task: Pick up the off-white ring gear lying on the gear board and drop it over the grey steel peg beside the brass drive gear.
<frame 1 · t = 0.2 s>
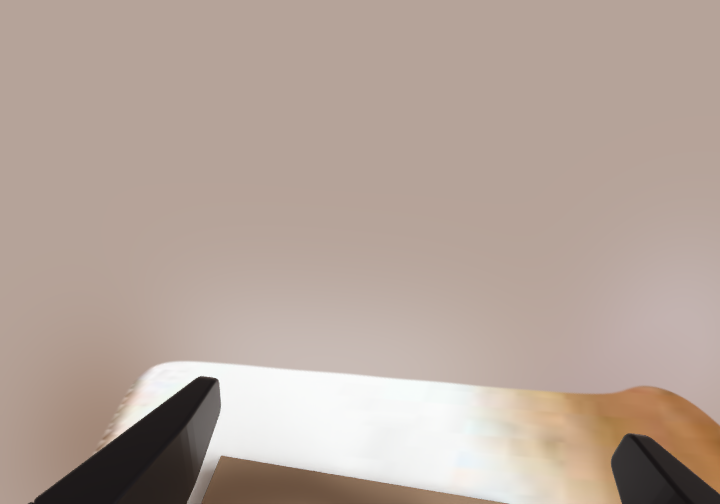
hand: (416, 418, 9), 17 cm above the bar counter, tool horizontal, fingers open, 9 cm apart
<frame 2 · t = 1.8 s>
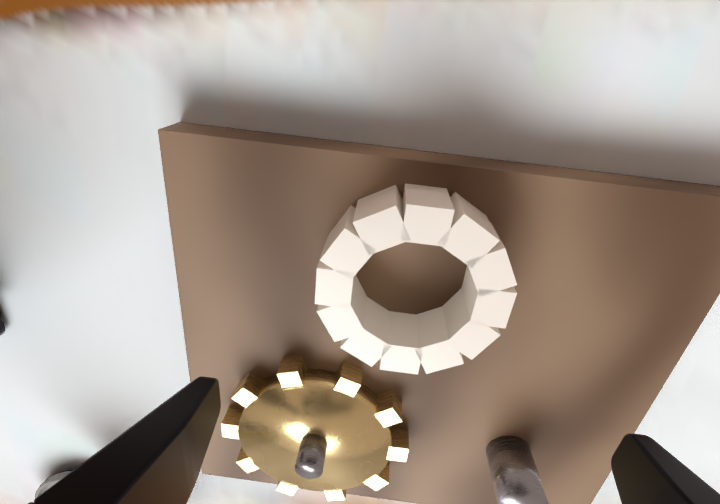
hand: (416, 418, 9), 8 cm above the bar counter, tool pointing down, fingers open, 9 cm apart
pocket watch: (114, 491, 26), on the bar counter
brass drive gear: (322, 399, 20), resting on gear board
steel peg: (500, 423, 20), resting on gear board
ring gear: (410, 268, 15), point 1 cm above the bar counter, touching gear board
gear board: (414, 349, 18), on the bar counter
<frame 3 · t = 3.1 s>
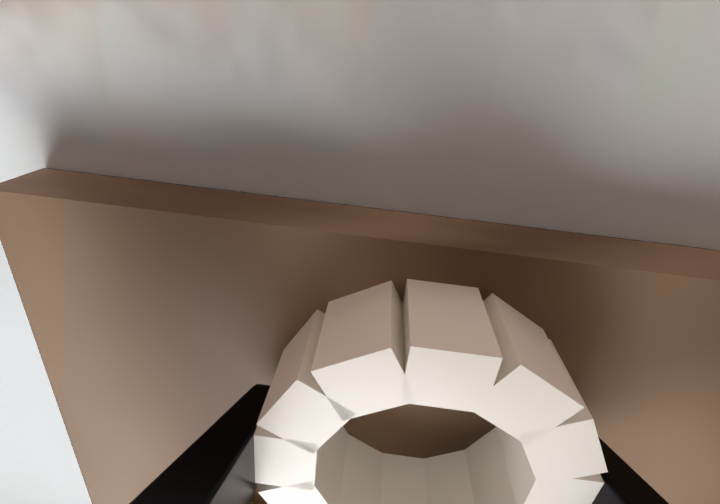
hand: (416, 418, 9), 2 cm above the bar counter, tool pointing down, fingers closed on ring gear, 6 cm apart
ring gear: (415, 399, 9), point 2 cm above the bar counter, touching gear board, gripper
gear board: (419, 478, 13), on the bar counter
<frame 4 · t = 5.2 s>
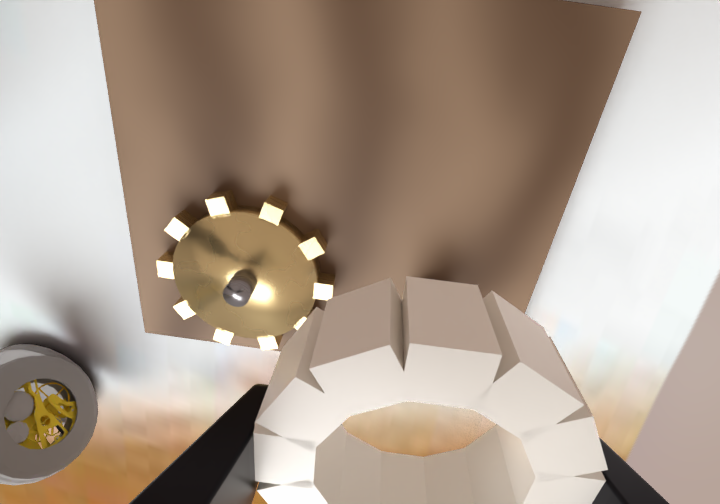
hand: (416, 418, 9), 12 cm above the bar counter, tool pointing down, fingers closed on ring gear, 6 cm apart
pocket watch: (66, 372, 27), on the bar counter
brass drive gear: (259, 256, 21), resting on gear board
ring gear: (415, 397, 9), point 12 cm above the bar counter, touching gripper
gear board: (341, 197, 20), on the bar counter
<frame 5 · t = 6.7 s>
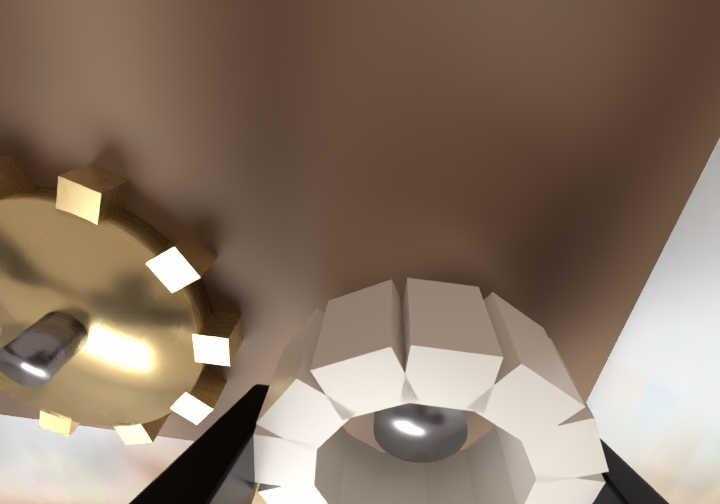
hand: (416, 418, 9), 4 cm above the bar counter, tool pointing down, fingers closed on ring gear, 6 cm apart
brass drive gear: (123, 280, 12), resting on gear board
steel peg: (412, 317, 12), resting on gear board
ring gear: (415, 399, 9), point 3 cm above the bar counter, touching gripper
gear board: (247, 169, 10), on the bar counter
when the fingers open (3 cm above the bar counter, at t = 7.6 s): ring gear drops 1 cm, resting on gear board.
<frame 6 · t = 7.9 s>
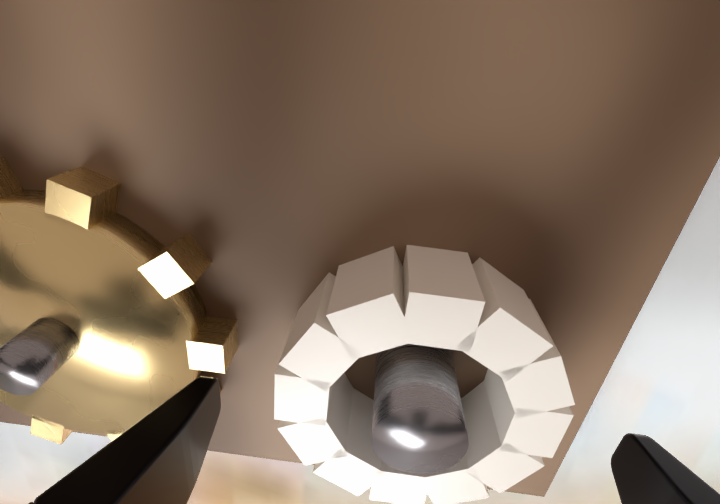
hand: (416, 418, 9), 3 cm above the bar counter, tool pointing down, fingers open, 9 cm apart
brass drive gear: (117, 284, 12), resting on gear board
steel peg: (411, 322, 12), resting on gear board
ring gear: (413, 355, 11), point 1 cm above the bar counter, touching gear board
gear board: (242, 172, 10), on the bar counter
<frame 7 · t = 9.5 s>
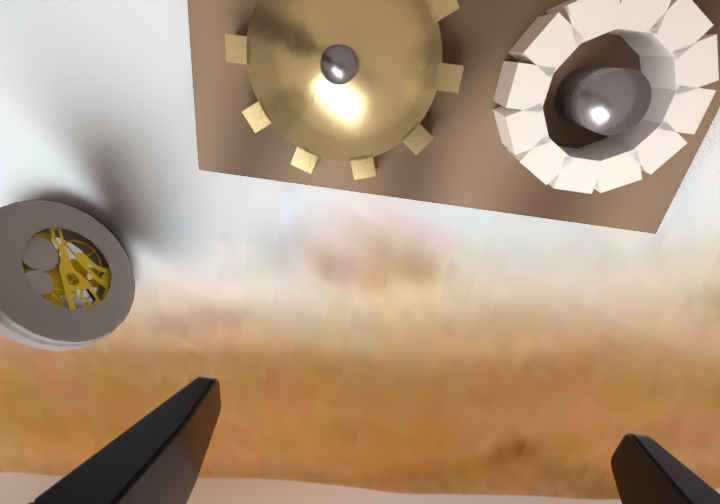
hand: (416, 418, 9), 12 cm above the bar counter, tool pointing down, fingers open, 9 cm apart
pocket watch: (94, 250, 22), on the bar counter
brass drive gear: (349, 61, 17), resting on gear board
steel peg: (567, 91, 16), resting on gear board
ring gear: (582, 93, 15), point 1 cm above the bar counter, touching gear board
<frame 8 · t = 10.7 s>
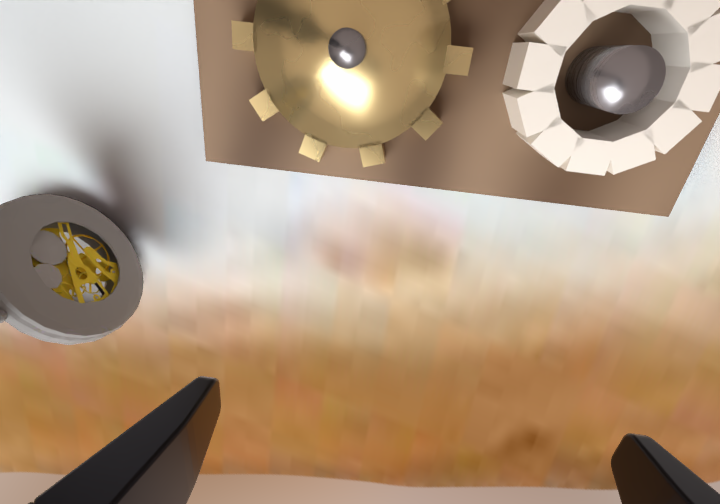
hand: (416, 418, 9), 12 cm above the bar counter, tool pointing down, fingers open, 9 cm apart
pocket watch: (101, 246, 22), on the bar counter
brass drive gear: (356, 48, 16), resting on gear board
steel peg: (577, 73, 16), resting on gear board
ring gear: (593, 74, 15), point 1 cm above the bar counter, touching gear board
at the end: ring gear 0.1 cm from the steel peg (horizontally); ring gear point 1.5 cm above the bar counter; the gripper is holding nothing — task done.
